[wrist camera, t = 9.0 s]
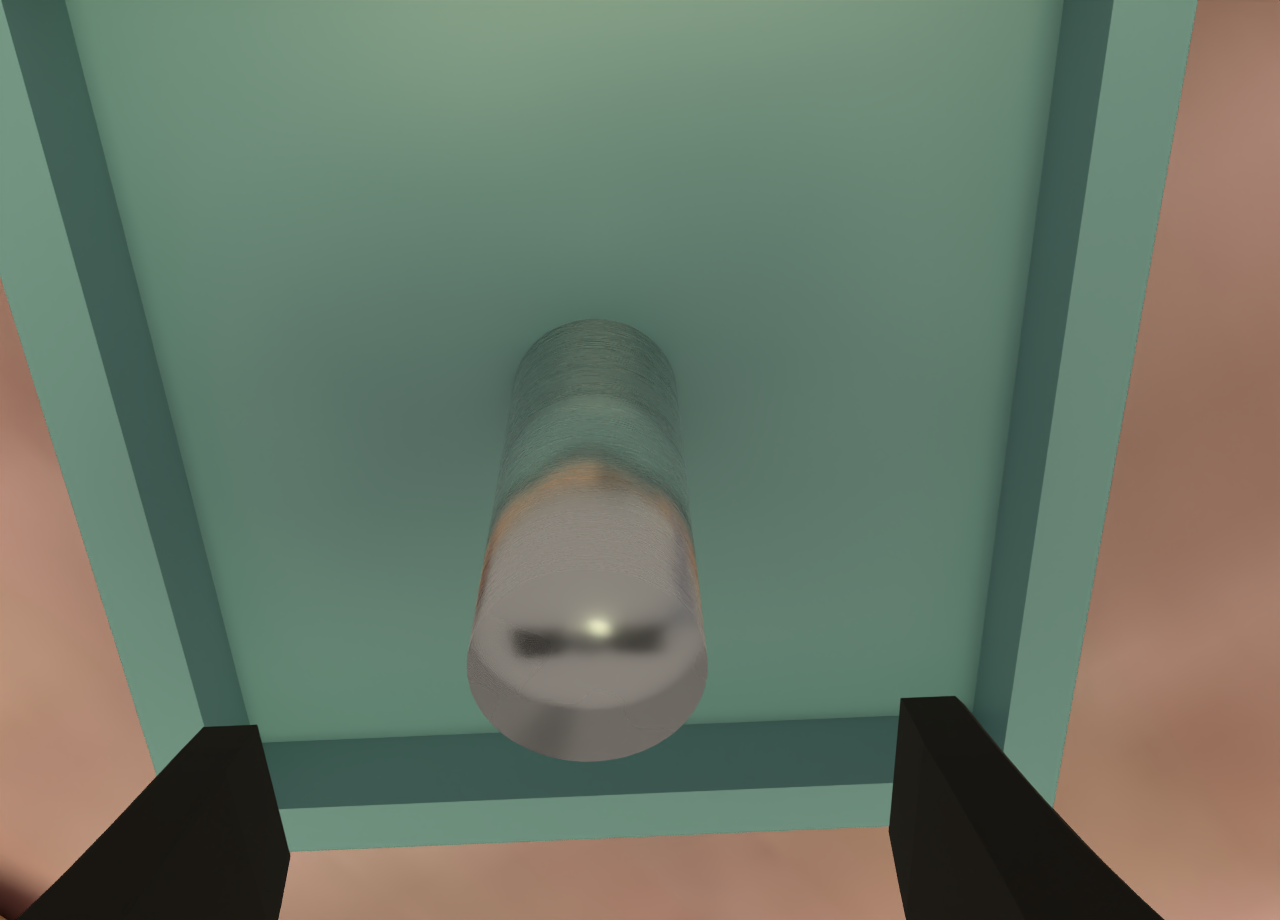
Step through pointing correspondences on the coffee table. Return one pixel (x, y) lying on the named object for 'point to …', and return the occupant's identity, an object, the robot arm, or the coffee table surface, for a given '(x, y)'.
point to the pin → (590, 554)
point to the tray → (565, 292)
